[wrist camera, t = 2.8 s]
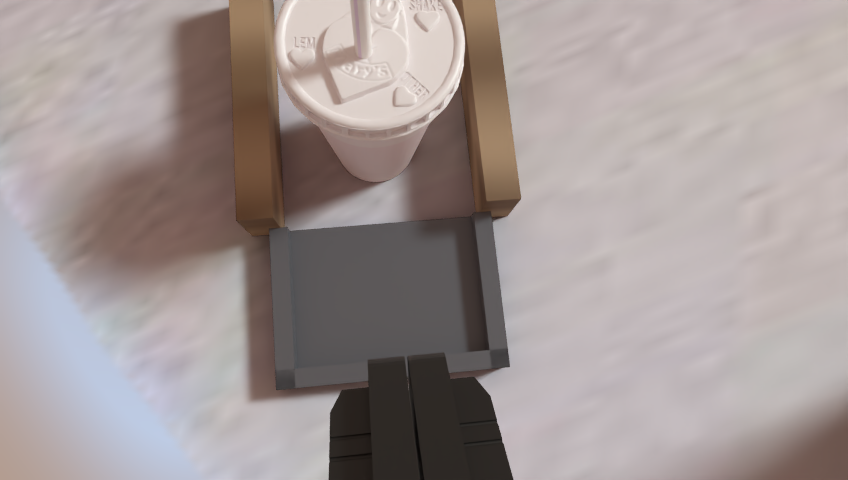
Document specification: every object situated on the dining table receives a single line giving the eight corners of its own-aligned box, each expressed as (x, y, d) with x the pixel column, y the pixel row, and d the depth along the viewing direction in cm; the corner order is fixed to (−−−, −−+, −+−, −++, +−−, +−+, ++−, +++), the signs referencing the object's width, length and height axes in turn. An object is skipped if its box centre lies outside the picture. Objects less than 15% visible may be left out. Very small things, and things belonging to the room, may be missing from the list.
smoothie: (286, 179, 29) (195, 6, 15) (340, 65, 30) (301, -190, 16) (412, 229, 28) (436, 101, 15) (460, 112, 30) (523, -105, 16)
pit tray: (504, 366, 27) (510, 366, 26) (281, 389, 27) (276, 389, 25) (486, 217, 29) (490, 210, 28) (273, 234, 28) (268, 228, 27)
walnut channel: (507, 215, 29) (520, 198, 26) (252, 236, 28) (236, 220, 25) (478, -9, 31) (488, -48, 28) (243, 3, 30) (227, -36, 27)
